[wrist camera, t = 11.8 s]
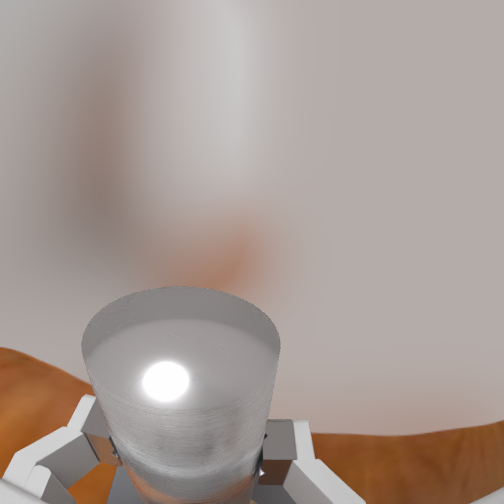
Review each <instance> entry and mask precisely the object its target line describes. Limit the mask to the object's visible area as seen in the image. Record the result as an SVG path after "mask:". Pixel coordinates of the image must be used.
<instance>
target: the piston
mask: <svg viewBox="0 0 504 504" xmlns="http://www.w3.org/2000/svg"><path fill="white" fill-rule="evenodd" d="M82 354H83V358H84V362H85V365H86V368H87V372H88V375H89V378H90V381H91V384H92V387H93V390H94V393H95V396H96V399H97V402H98V405H99V407H100V410H101V413H102V415H103V418H104V420H105V423H106V426H107V428H108V431H109V433H110V435H111V438H112V440H113V442H114V445H115V447H116V449H117V452H118V454H119V456H120V458H121V460H122V462H123V465H124V467H125V469H126V471H127V473H128V475H129V477H130V479H131V481H132V483H133V485H134V487H135V489H136V490H137V492H138V494H139V496H140V498H141V500H142V502H143V503H144V504H250V500H251V496H252V491H253V487H254V483H255V478H256V473H257V469H258V464H259V459H260V454H261V450H262V445H263V440H264V435H265V430H266V425H267V420H268V414H269V409H270V404H271V399H272V393H273V388H274V382H275V376H276V371H277V365H278V359H279V354H280V338H279V334H278V332H277V329H276V327H275V325H274V324H273V322H272V321H271V319H270V318H269V317H268V316H267V315H266V314H265V313H264V312H262V311H261V310H260V309H259V308H257V307H256V306H254V305H253V304H251V303H249V302H247V301H245V300H243V299H241V298H239V297H236V296H234V295H231V294H228V293H225V292H221V291H216V290H212V289H206V288H198V287H162V288H154V289H148V290H143V291H140V292H136V293H133V294H130V295H127V296H124V297H122V298H120V299H118V300H115V301H114V302H112V303H110V304H108V305H107V306H106V307H104V308H103V309H101V310H100V311H99V312H98V313H97V314H96V315H95V316H94V317H93V318H92V319H91V321H90V322H89V324H88V325H87V327H86V329H85V331H84V334H83V338H82Z"/></svg>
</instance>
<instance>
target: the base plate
mask: <svg viewBox="0 0 504 504" xmlns="http://www.w3.org/2000/svg"><path fill="white" fill-rule="evenodd" d="M251 499H252V500H253V501H254V502H256V503H257V504H296V503H295V501H294V500H293V499H292V497H291V496H290V495H289V494H288V492H287V491H286V490H285V488H284V487H283V485H257V473H256V478H255V483H254V487H253V491H252V496H251ZM106 504H144V503H143V502H142V500H141V498H140V496H139V494H138V492H137V490H136V489H135V487H134V485H133V483H132V481H131V479H130V477H129V475H128V473H127V471H126V469H125V467H124V465H122V467H120V466H118V467H117V470H116V474H115V477H114V480H113V483H112V487H111V490H110V493H109V496H108V500H107V503H106Z"/></svg>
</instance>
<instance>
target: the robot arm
mask: <svg viewBox="0 0 504 504" xmlns="http://www.w3.org/2000/svg"><path fill="white" fill-rule="evenodd" d="M99 462H103V463H107V464H111V465H115V466H120V467H122V465H123V462H122V460H121V458H120V456H119V454H118V452H117V449H116V447H115V445H114V442H113V440H112V438H111V435H110V433H109V431H108V428H107V426H106V423H105V420H104V418H103V415H102V413H101V410H100V407H99V405H98V402H97V399H96V397H94V396H91V395H87V394H85V395H84V396H83V397H82V398H81V400H80V402H79V404H78V406H77V408H76V410H75V412H74V414H73V416H72V417H71V419H70V421H69V423H68V425H67V427H61V428H59V429H58V430H56V431H54V432H52V433H51V434H49V435H47V436H45V437H43V438H42V439H40V440H38V441H36V442H34V443H33V444H31V445H29V446H27V447H25V448H23V449H22V450H20V451H18V452H16V453H15V455H14V457H13V458H12V460H11V462H10V464H9V466H8V468H7V470H6V472H5V474H4V476H3V478H2V479H0V504H76V501H75V499H74V498H73V497H72V496H71V495H70V493H69V492H68V491H67V489H68V488H69V487H71V486H72V485H73V484H74V483H76V482H77V481H78V480H79V479H81V478H82V477H83V476H84V475H86V474H87V473H88V472H89V471H90V470H92V469H93V468H94V467H95V466H97V465H98V464H99ZM257 485H283V487H284V488H285V490H286V491H287V492H288V494H289V495H290V496H291V497H292V499H293V500H294V501H295V503H296V504H366V502H365V501H364V500H363V499H362V498H361V497H360V496H358V495H357V494H356V493H355V492H354V491H353V490H352V489H351V488H350V487H348V486H347V485H346V484H345V483H344V482H343V481H342V480H341V479H340V478H339V477H338V476H337V475H336V474H335V473H333V472H332V471H331V470H330V469H329V468H328V467H327V466H326V465H325V464H324V463H323V462H322V461H321V460H320V459H315V455H314V449H313V443H312V438H311V432H310V427H309V422H308V420H290V419H285V420H283V419H282V420H281V419H276V420H275V419H274V420H273V419H268V420H267V425H266V430H265V435H264V440H263V445H262V450H261V454H260V459H259V464H258V469H257ZM469 504H504V487H502V488H500V489H498V490H496V491H494V492H492V493H490V494H488V495H486V496H484V497H482V498H480V499H478V500H476V501H473V502H471V503H469Z"/></svg>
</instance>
